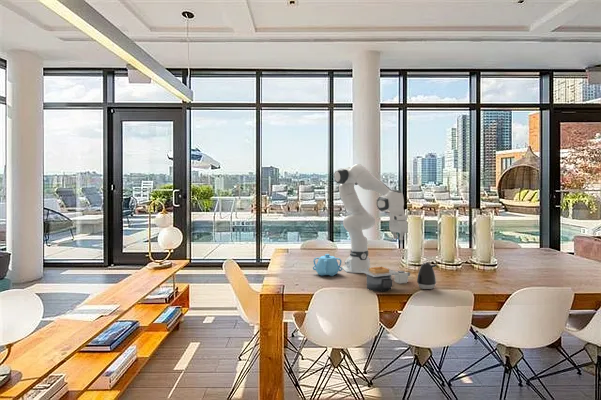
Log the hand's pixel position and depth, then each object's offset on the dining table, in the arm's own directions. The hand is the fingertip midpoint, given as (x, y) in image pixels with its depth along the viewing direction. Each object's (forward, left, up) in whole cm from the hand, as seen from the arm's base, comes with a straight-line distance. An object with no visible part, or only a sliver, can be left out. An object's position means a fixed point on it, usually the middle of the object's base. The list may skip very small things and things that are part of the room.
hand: (398, 239), depth 258 cm
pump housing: (+1, +3, -26) cm, 26 cm away
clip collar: (+8, -18, -16) cm, 25 cm away
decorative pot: (-36, -30, -26) cm, 54 cm away
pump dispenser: (+20, +6, -26) cm, 33 cm away
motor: (+8, -18, -26) cm, 33 cm away
